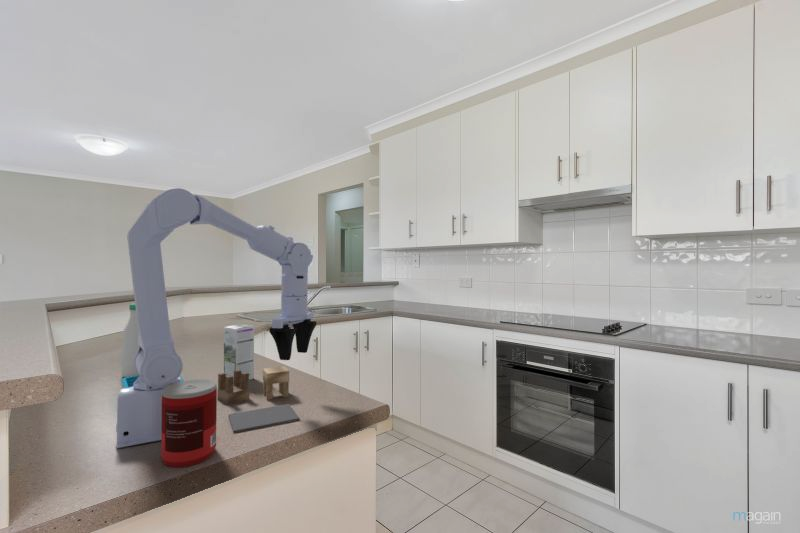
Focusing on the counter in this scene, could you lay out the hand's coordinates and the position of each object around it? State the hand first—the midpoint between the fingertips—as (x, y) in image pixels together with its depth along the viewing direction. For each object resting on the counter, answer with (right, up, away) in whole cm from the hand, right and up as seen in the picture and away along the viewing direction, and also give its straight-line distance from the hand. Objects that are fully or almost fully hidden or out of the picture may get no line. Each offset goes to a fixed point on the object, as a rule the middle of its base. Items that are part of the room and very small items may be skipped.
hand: (293, 355), depth 85 cm
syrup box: (-19, -11, +16) cm, 28 cm away
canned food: (-10, -10, -25) cm, 29 cm away
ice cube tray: (-34, -11, +4) cm, 36 cm away
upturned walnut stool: (-14, -10, +1) cm, 18 cm away
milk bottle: (-50, -11, +21) cm, 55 cm away
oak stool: (-5, -10, +4) cm, 12 cm away
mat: (-3, -10, -10) cm, 15 cm away
